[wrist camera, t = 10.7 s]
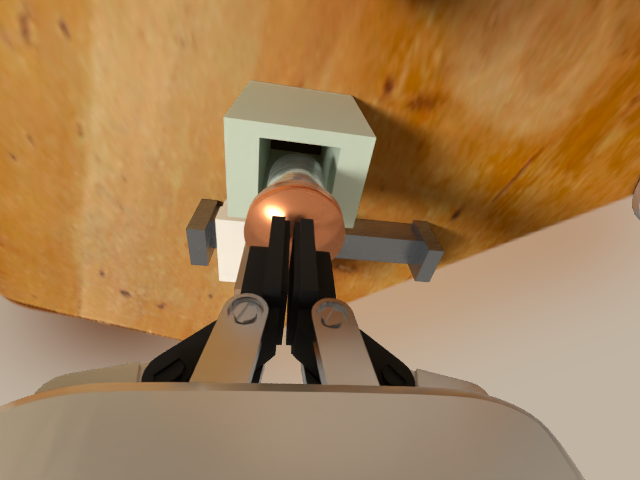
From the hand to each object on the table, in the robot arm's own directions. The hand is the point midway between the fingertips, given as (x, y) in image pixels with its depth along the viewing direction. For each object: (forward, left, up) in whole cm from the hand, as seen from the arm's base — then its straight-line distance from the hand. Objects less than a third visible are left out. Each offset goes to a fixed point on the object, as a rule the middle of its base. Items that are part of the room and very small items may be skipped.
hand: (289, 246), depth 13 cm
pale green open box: (0, 0, -16) cm, 16 cm away
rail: (-3, +10, -16) cm, 19 cm away
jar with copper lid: (0, 0, -6) cm, 6 cm away
